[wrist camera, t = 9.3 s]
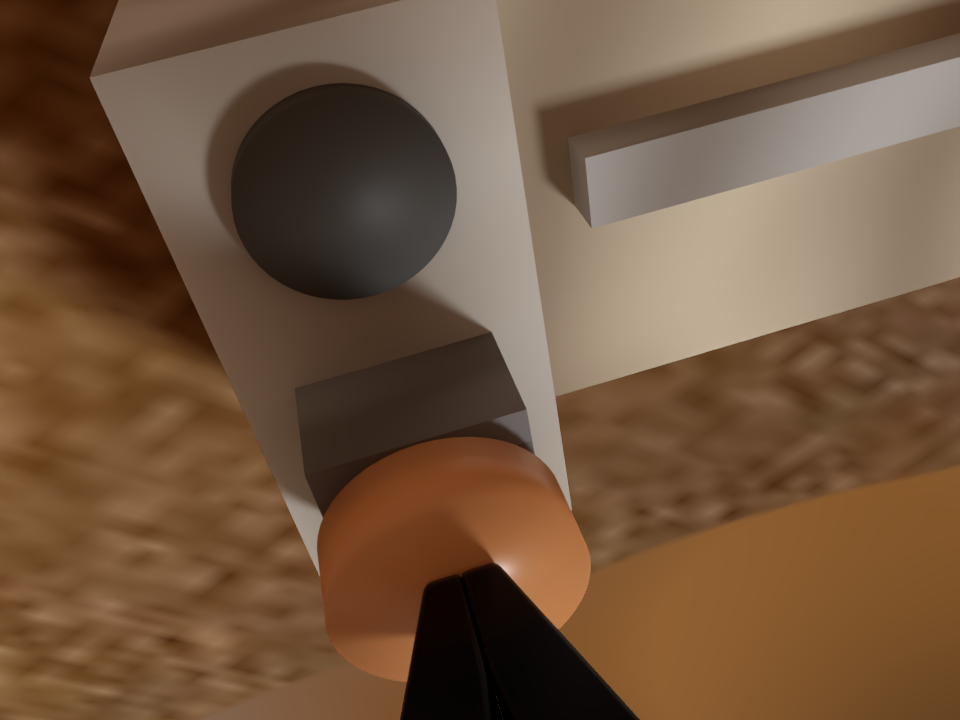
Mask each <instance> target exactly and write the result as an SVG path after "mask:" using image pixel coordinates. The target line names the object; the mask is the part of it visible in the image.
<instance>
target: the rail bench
mask: <svg viewBox="0 0 960 720" xmlns="http://www.w3.org/2000/svg"><path fill="white" fill-rule="evenodd" d="M89 78H90V80H91V82H92V85H93V87H94V89H95V91H96V93H97V95H98V98H99V100H100V102H101V104H102V106H103V108H104V111H105V113H106V115H107V117H108V119H109V121H110V124H111V126H112V128H113V130H114V132H115V134H116V137H117V139H118V141H119V143H120V145H121V147H122V150H123V152H124V154H125V156H126V158H127V160H128V163H129V165H130V167H131V169H132V171H133V173H134V175H135V178H136V180H137V182H138V184H139V186H140V188H141V191H142V193H143V195H144V197H145V199H146V201H147V204H148V206H149V208H150V210H151V212H152V214H153V217H154V219H155V221H156V223H157V225H158V227H159V230H160V232H161V234H162V236H163V238H164V240H165V243H166V245H167V247H168V249H169V251H170V253H171V256H172V258H173V260H174V262H175V264H176V266H177V269H178V271H179V273H180V275H181V277H182V279H183V282H184V284H185V286H186V288H187V290H188V292H189V295H190V297H191V299H192V301H193V303H194V305H195V307H196V310H197V312H198V314H199V316H200V318H201V320H202V323H203V325H204V327H205V329H206V331H207V333H208V336H209V338H210V340H211V342H212V344H213V346H214V349H215V351H216V353H217V355H218V357H219V359H220V362H221V364H222V366H223V368H224V370H225V372H226V375H227V377H228V379H229V381H230V383H231V385H232V388H233V390H234V392H235V394H236V396H237V398H238V401H239V403H240V405H241V407H242V409H243V411H244V414H245V416H246V418H247V420H248V422H249V424H250V427H251V429H252V431H253V433H254V435H255V437H256V439H257V442H258V444H259V446H260V448H261V450H262V452H263V455H264V457H265V459H266V461H267V463H268V465H269V468H270V470H271V472H272V474H273V476H274V478H275V481H276V483H277V485H278V487H279V489H280V491H281V494H282V496H283V498H284V500H285V502H286V504H287V507H288V509H289V511H290V513H291V515H292V517H293V520H294V522H295V524H296V526H297V528H298V530H299V533H300V535H301V537H302V539H303V541H304V543H305V546H306V548H307V550H308V552H309V554H310V556H311V559H312V561H313V563H314V565H315V567H316V569H317V571H318V574H319V576H320V571H319V562H318V554H317V537H318V532H319V528H320V524H321V522H322V520H323V517H324V515H325V513H326V511H327V509H328V508H329V506H330V504H331V503H332V501H333V500H334V498H335V497H336V496H337V495H338V494H339V493H340V491H341V490H342V489H343V488H344V487H345V486H346V485H347V484H348V483H349V482H350V481H351V480H352V479H353V478H354V477H356V476H357V475H358V474H360V473H361V472H362V471H364V470H365V469H366V468H368V467H369V466H371V465H373V464H374V463H376V462H378V461H379V460H381V459H383V458H385V457H387V456H389V455H391V454H393V453H395V452H398V451H400V450H402V449H405V448H408V447H411V446H414V445H417V444H421V443H425V442H429V441H433V440H438V439H445V438H452V437H482V438H490V439H496V440H501V441H505V442H508V443H511V444H514V445H517V446H519V447H521V448H523V449H526V450H528V451H529V452H531V453H532V454H534V455H535V456H537V457H538V458H540V459H541V460H542V461H543V462H544V463H545V464H546V465H547V466H548V467H549V468H550V470H551V471H552V472H553V474H554V475H555V477H556V479H557V481H558V483H559V485H560V488H561V490H562V492H563V494H564V496H565V499H566V501H567V503H568V505H569V508H570V510H572V508H571V501H570V494H569V487H568V481H567V474H566V467H565V460H564V454H563V447H562V440H561V433H560V427H559V420H558V413H557V406H556V400H555V397H556V396H559V395H562V394H566V393H569V392H573V391H576V390H579V389H583V388H586V387H589V386H593V385H596V384H600V383H603V382H606V381H610V380H613V379H617V378H620V377H623V376H627V375H630V374H633V373H637V372H640V371H644V370H647V369H650V368H654V367H657V366H661V365H664V364H667V363H671V362H674V361H677V360H681V359H684V358H688V357H691V356H694V355H698V354H701V353H704V352H708V351H711V350H715V349H718V348H721V347H725V346H728V345H732V344H735V343H738V342H742V341H745V340H748V339H752V338H755V337H759V336H762V335H765V334H769V333H772V332H776V331H779V330H782V329H786V328H789V327H792V326H796V325H799V324H803V323H806V322H809V321H813V320H816V319H819V318H823V317H826V316H830V315H833V314H836V313H840V312H843V311H847V310H850V309H853V308H857V307H860V306H863V305H867V304H870V303H874V302H877V301H880V300H884V299H887V298H890V297H894V296H897V295H901V294H904V293H907V292H911V291H914V290H918V289H921V288H924V287H928V286H931V285H934V284H938V283H941V282H945V281H948V280H951V279H955V278H958V277H960V0H118V3H117V6H116V8H115V11H114V14H113V16H112V19H111V22H110V24H109V27H108V30H107V32H106V35H105V38H104V40H103V43H102V46H101V48H100V51H99V54H98V56H97V59H96V61H95V64H94V67H93V69H92V72H91V75H90V77H89Z"/></svg>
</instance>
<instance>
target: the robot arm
mask: <svg viewBox="0 0 960 720" xmlns="http://www.w3.org/2000/svg"><path fill="white" fill-rule="evenodd" d="M463 582H464V584H463ZM464 586H465V587H464ZM465 589H466V590H465ZM466 593H467V594H466ZM467 596H468V597H467ZM468 600H469V601H468ZM469 603H470V604H469ZM471 610H472V611H471ZM473 617H474V618H473ZM492 683H493V684H492ZM494 690H495V691H494ZM496 697H497V698H496ZM497 700H498V701H497ZM498 704H499V705H498ZM499 707H500V708H499ZM501 714H502V715H501ZM502 717H503V718H502ZM400 720H640V719H639V718H638V717H637V716H636V715H635V714H634V713H633V712H632V711H631V709H630V708H629V707H628V706H627V705H626V704H625V703H624V702H623V701H622V700H621V698H620V697H619V696H618V695H617V694H616V693H615V692H614V691H613V690H612V689H611V687H610V686H609V685H608V684H607V683H606V682H605V681H604V680H603V679H602V678H601V676H600V675H599V674H598V673H597V672H596V671H595V670H594V669H593V668H592V666H590V664H589V663H588V662H587V661H586V660H585V659H584V658H583V656H582V655H581V654H580V653H579V652H578V651H577V650H576V649H575V648H574V647H573V646H572V645H571V643H570V642H569V641H568V640H567V639H566V638H565V637H564V636H563V634H562V633H561V632H560V631H559V630H558V629H557V628H556V627H555V626H554V624H553V623H552V622H551V621H550V620H549V619H548V618H547V617H546V616H545V615H544V613H543V612H542V611H541V610H540V609H539V608H538V607H537V606H536V605H535V604H534V602H533V601H532V600H531V599H530V598H529V597H528V596H527V595H526V594H525V592H524V591H523V590H522V589H521V588H520V587H519V586H518V585H517V584H516V583H515V581H514V580H513V579H512V578H511V577H510V576H509V575H508V574H507V573H506V572H505V570H504V569H503V568H502V567H501V566H499V565H498V564H496V563H489V564H486V565H483V566H480V567H476V568H473V569H470V570H467V571H466V572H465V573H464V574H463V580H462V578H461V577H460V576H459V575H451V576H448V577H444V578H441V579H438V580H435V581H432V582H429V583H428V584H427V585H426V586H425V588H424V590H423V594H422V600H421V605H420V611H419V617H418V622H417V628H416V633H415V639H414V645H413V650H412V656H411V661H410V667H409V673H408V678H407V684H406V690H405V695H404V702H403V707H402V712H401V718H400Z"/></svg>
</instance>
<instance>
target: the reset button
mask: <svg viewBox="0 0 960 720" xmlns="http://www.w3.org/2000/svg"><path fill="white" fill-rule="evenodd" d="M317 554H318V562H319V571H320V579H321V588H322V596H323V604H324V613H325V621H326V629H327V632H328V635H329V638H330V641H331V642H332V644H333V645H334V647H335V649H336V650H337V651H338V652H339V654H340V655H341V656H342V657H343V658H344V659H345V660H347V661H348V662H349V663H351V664H352V665H353V666H355V667H357V668H359V669H361V670H363V671H364V672H367V673H369V674H372V675H375V676H377V677H381V678H385V679H390V680H395V681H402V682H407V678H408V673H409V667H410V661H411V656H412V650H413V645H414V639H415V633H416V628H417V622H418V617H419V611H420V605H421V600H422V594H423V590H424V588H425V586H426V585H427V584H428V583H429V582H432V581H435V580H438V579H441V578H444V577H448V576H451V575H459V576H460V577H461V578H462V580H463V574H464V573H465V572H466V571H467V570H470V569H473V568H476V567H480V566H483V565H486V564H489V563H496V564H498V565H499V566H501V567H502V568H503V569H504V570H505V572H506V573H507V574H508V575H509V576H510V577H511V578H512V579H513V580H514V581H515V583H516V584H517V585H518V586H519V587H520V588H521V589H522V590H523V591H524V592H525V594H526V595H527V596H528V597H529V598H530V599H531V600H532V601H533V602H534V604H535V605H536V606H537V607H538V608H539V609H540V610H541V611H542V612H543V613H544V615H545V616H546V617H547V618H548V619H549V620H550V621H551V622H552V623H553V624H554V626H555V627H556V628H557V629H559V628H560V627H562V626H563V624H564V623H565V622H566V621H567V620H568V619H569V618H570V616H571V615H572V614H573V613H574V611H575V610H576V608H577V607H578V605H579V604H580V602H581V600H582V598H583V596H584V594H585V592H586V589H587V586H588V583H589V578H590V572H591V561H590V555H589V551H588V547H587V545H586V543H585V541H584V539H583V536H582V534H581V532H580V530H579V528H578V525H577V523H576V521H575V519H574V516H573V514H572V512H571V510H570V508H569V505H568V503H567V501H566V499H565V496H564V494H563V492H562V490H561V488H560V485H559V483H558V481H557V479H556V477H555V475H554V474H553V472H552V471H551V470H550V468H549V467H548V466H547V465H546V464H545V463H544V462H543V461H542V460H541V459H540V458H538V457H537V456H535V455H534V454H532V453H531V452H529V451H528V450H526V449H523V448H521V447H519V446H517V445H514V444H511V443H508V442H505V441H501V440H496V439H490V438H482V437H452V438H445V439H438V440H433V441H429V442H425V443H421V444H417V445H414V446H411V447H408V448H405V449H402V450H400V451H398V452H395V453H393V454H391V455H389V456H387V457H385V458H383V459H381V460H379V461H378V462H376V463H374V464H373V465H371V466H369V467H368V468H366V469H365V470H364V471H362V472H361V473H360V474H358V475H357V476H356V477H354V478H353V479H352V480H351V481H350V482H349V483H348V484H347V485H346V486H345V487H344V488H343V489H342V490H341V491H340V493H339V494H338V495H337V496H336V497H335V498H334V500H333V501H332V503H331V504H330V506H329V508H328V509H327V511H326V513H325V515H324V517H323V520H322V522H321V524H320V528H319V532H318V537H317ZM463 584H464V582H463ZM464 587H465V586H464ZM465 590H466V589H465ZM466 594H467V593H466ZM467 597H468V596H467ZM468 601H469V600H468ZM469 604H470V603H469ZM471 611H472V610H471ZM473 618H474V617H473Z"/></svg>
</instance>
